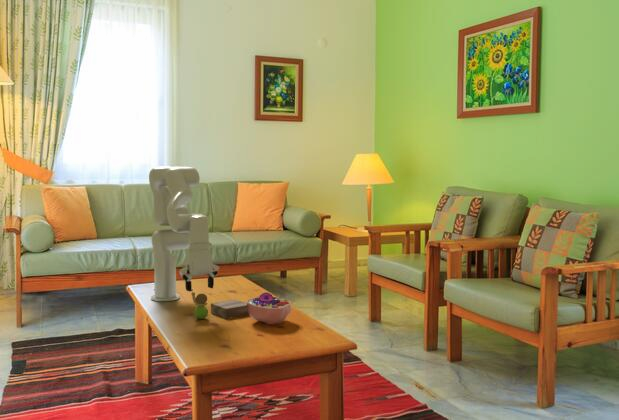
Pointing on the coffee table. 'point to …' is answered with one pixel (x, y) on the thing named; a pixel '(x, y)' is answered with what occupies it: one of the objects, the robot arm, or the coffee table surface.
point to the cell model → (269, 308)
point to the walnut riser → (229, 308)
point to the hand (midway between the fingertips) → (199, 289)
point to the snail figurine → (200, 305)
